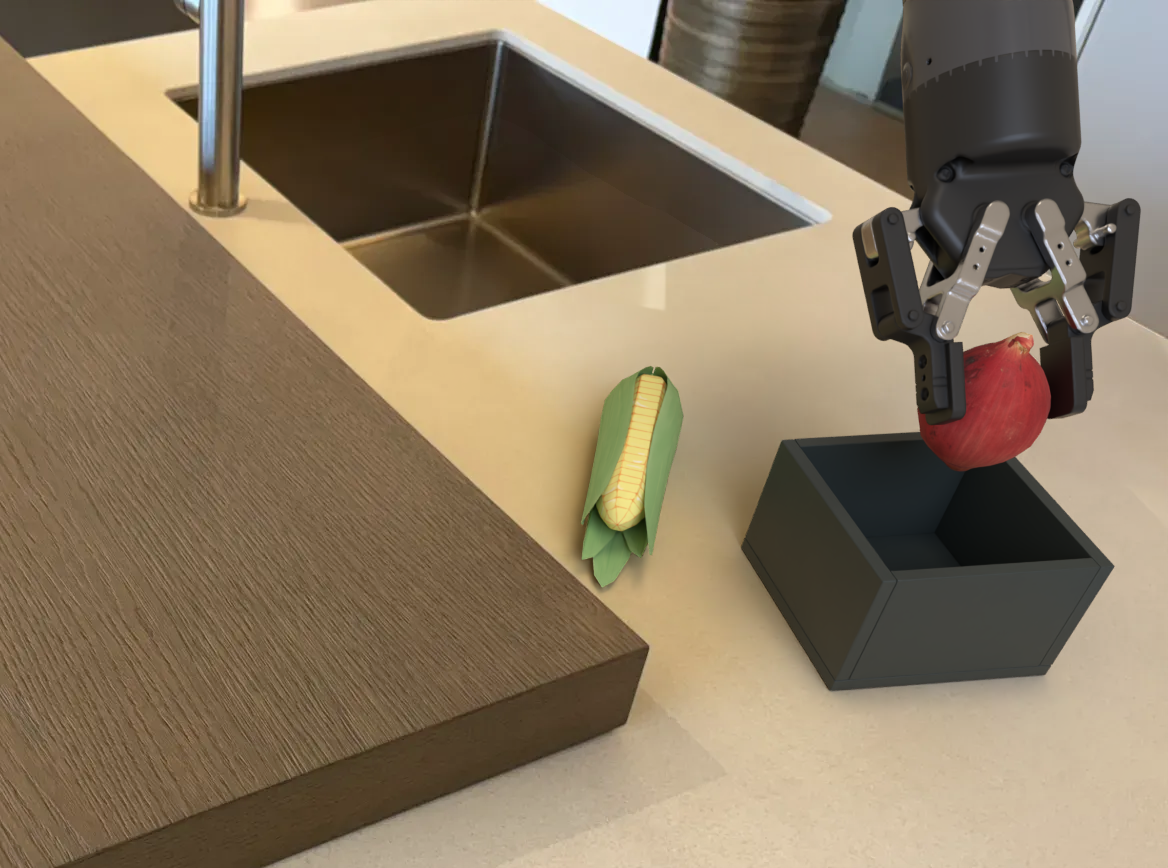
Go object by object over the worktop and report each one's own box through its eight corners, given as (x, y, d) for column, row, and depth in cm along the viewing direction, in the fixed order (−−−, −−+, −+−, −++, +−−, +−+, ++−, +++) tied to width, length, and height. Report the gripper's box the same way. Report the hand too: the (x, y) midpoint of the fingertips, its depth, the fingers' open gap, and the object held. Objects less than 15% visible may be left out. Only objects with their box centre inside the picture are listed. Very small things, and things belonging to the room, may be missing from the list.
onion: (901, 490, 71) (965, 354, 65) (890, 429, 75) (950, 295, 69) (1020, 508, 70) (1096, 372, 64) (1002, 445, 74) (1073, 311, 68)
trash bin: (935, 534, 84) (989, 427, 78) (1045, 675, 75) (1115, 566, 70) (740, 547, 83) (781, 439, 77) (829, 691, 74) (883, 581, 69)
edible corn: (679, 421, 92) (698, 362, 89) (645, 603, 79) (665, 541, 76) (603, 406, 93) (618, 347, 90) (556, 583, 80) (572, 522, 77)
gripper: (895, 47, 63) (916, 411, 63) (1182, 39, 64) (1201, 395, 65) (808, 116, 71) (828, 441, 71) (1067, 107, 72) (1085, 426, 72)
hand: (1006, 417), depth 68 cm, fingers closed on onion, 5 cm apart
